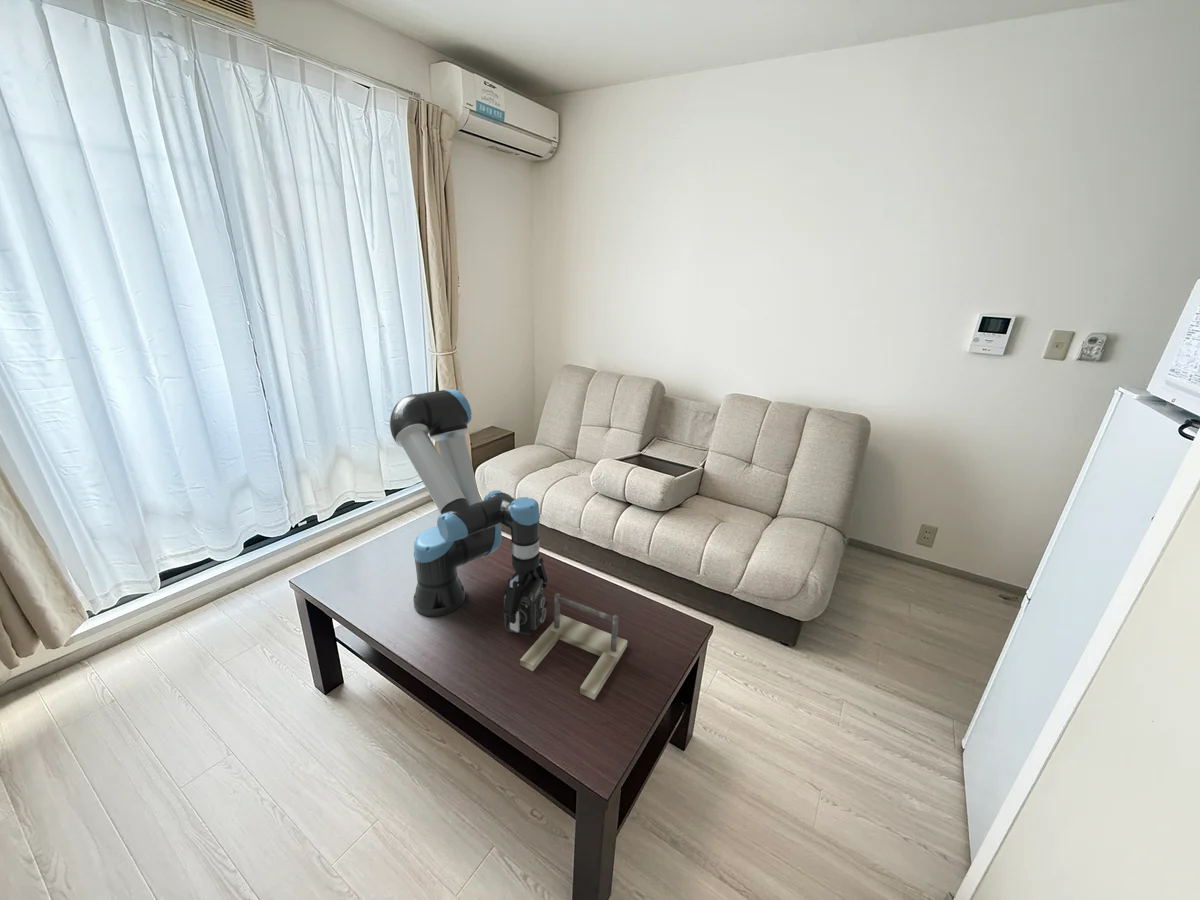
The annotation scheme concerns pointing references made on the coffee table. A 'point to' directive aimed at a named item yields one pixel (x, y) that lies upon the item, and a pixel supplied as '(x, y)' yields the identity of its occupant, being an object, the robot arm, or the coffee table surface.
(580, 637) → the wooden rack
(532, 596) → the camera
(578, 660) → the coffee table surface
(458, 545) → the robot arm
